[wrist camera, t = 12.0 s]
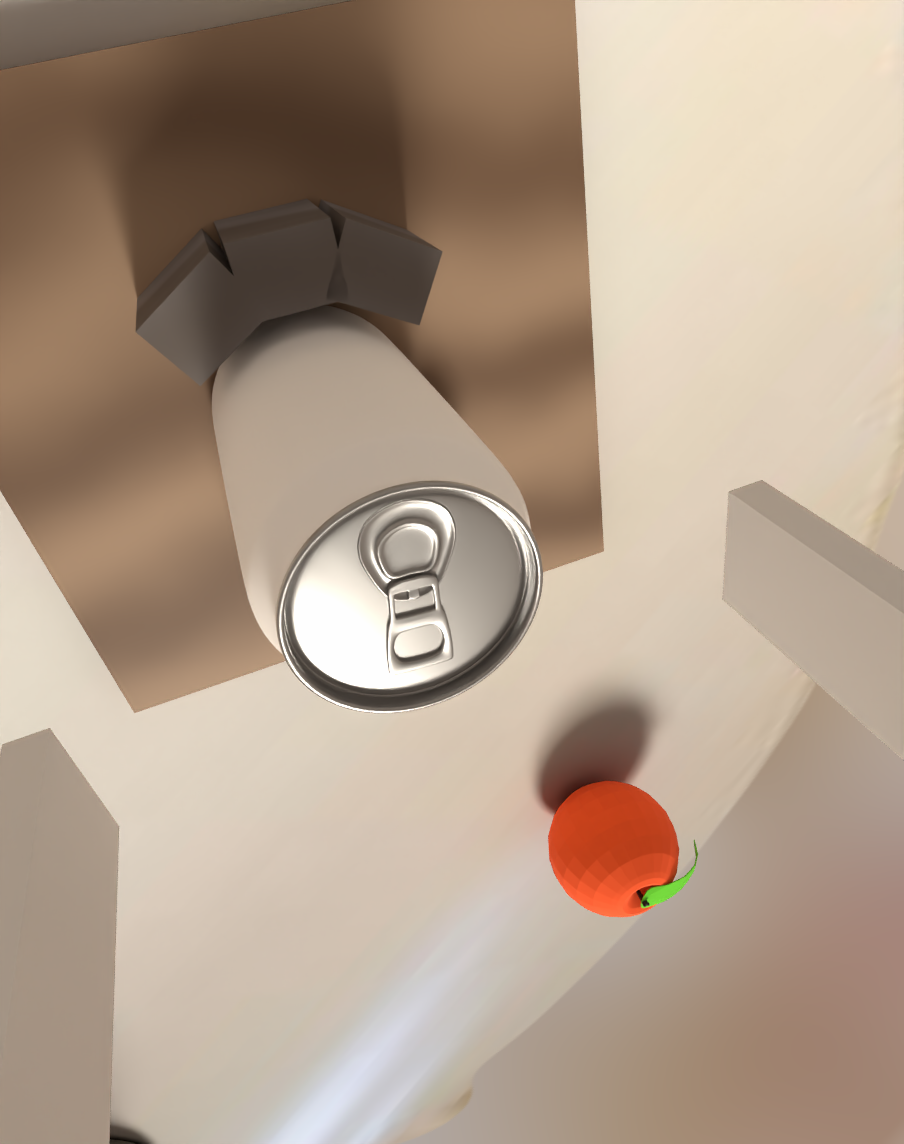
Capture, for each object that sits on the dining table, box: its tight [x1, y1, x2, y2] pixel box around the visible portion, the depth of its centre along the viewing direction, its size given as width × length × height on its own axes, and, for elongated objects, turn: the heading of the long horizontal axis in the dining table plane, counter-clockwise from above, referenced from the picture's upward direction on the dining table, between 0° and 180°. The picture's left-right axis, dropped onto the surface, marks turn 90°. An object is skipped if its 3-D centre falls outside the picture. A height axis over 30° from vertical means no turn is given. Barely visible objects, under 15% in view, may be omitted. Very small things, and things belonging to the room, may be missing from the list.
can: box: [212, 305, 543, 713], centre depth 20 cm, size 6×6×12 cm
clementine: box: [548, 781, 698, 917], centre depth 41 cm, size 8×7×7 cm
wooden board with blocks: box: [0, 0, 604, 713], centre depth 24 cm, size 20×20×5 cm
